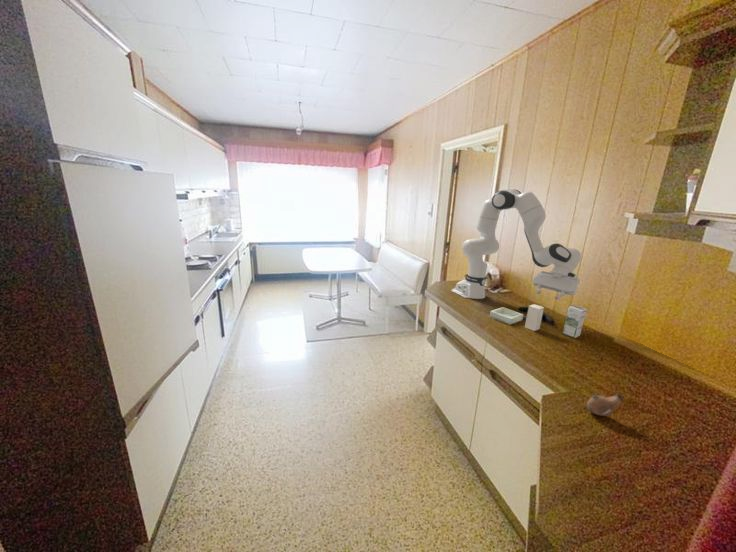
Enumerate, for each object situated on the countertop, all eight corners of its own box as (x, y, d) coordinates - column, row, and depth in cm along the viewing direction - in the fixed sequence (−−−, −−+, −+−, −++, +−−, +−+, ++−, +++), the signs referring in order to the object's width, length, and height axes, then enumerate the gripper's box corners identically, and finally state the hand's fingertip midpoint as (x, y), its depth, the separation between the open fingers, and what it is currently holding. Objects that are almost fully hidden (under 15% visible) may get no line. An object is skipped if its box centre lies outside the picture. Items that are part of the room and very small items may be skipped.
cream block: (524, 327, 147) (528, 305, 144) (529, 325, 150) (534, 304, 147) (534, 331, 143) (539, 309, 140) (539, 328, 146) (544, 307, 143)
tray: (489, 316, 159) (490, 310, 158) (501, 312, 165) (502, 306, 164) (509, 325, 149) (510, 318, 148) (522, 320, 156) (523, 314, 155)
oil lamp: (613, 412, 90) (620, 391, 88) (621, 422, 86) (629, 400, 84) (582, 408, 91) (588, 387, 89) (589, 417, 87) (596, 395, 85)
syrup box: (580, 335, 140) (587, 308, 136) (574, 338, 137) (581, 310, 133) (567, 330, 145) (574, 304, 141) (561, 333, 142) (568, 306, 138)
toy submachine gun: (525, 319, 152) (557, 319, 150) (511, 305, 171) (540, 305, 169) (524, 324, 153) (556, 325, 151) (511, 310, 172) (539, 310, 170)
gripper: (538, 267, 156) (525, 286, 153) (581, 276, 139) (567, 298, 137) (541, 274, 159) (528, 293, 157) (582, 283, 143) (569, 305, 141)
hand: (547, 295), depth 147 cm, fingers open, 8 cm apart
